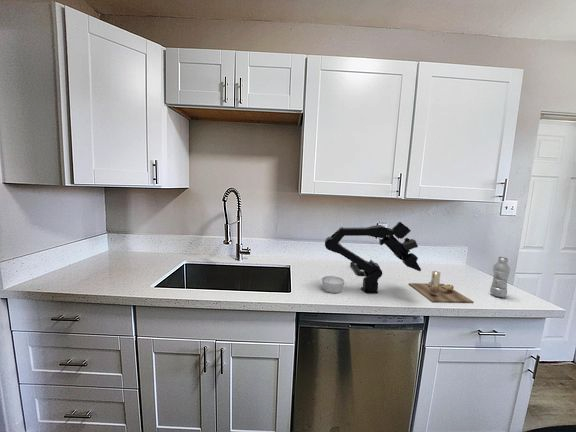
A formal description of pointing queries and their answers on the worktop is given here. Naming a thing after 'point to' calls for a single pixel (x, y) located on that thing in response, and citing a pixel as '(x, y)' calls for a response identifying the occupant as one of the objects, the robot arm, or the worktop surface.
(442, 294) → the walnut board
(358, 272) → the door handle
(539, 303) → the worktop surface
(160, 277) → the worktop surface
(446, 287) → the plate
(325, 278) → the ramekin
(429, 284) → the beige lever tool
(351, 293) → the worktop surface
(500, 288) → the plastic bottle
